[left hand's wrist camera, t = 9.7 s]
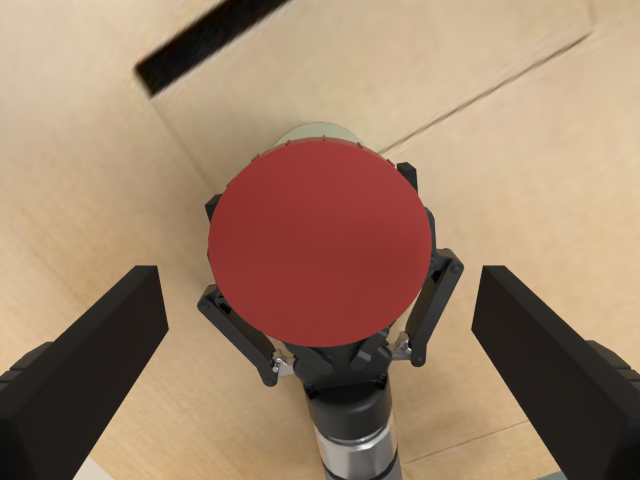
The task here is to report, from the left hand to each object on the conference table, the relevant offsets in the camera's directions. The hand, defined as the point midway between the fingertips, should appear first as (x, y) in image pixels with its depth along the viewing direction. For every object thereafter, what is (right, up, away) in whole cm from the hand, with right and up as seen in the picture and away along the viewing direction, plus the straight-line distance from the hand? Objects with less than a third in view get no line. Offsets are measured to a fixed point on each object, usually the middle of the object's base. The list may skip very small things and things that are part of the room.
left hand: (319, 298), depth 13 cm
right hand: (-1, +6, +12) cm, 14 cm away
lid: (0, +1, +4) cm, 4 cm away
